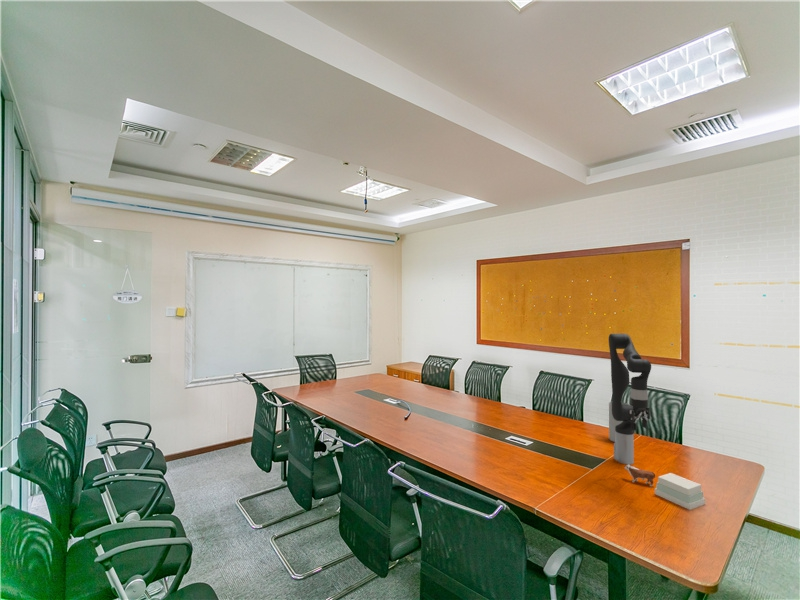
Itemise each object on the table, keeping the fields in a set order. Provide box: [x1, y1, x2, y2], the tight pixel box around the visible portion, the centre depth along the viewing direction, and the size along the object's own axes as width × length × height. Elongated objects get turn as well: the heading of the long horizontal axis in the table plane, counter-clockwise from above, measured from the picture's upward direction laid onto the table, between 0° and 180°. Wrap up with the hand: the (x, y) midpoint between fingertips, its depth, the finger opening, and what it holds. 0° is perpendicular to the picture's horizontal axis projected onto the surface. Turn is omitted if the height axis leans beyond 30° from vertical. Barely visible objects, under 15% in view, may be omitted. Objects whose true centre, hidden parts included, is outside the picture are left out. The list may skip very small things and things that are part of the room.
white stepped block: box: [654, 472, 706, 511], centre depth 171 cm, size 15×12×9 cm
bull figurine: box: [624, 464, 656, 487], centre depth 187 cm, size 4×13×8 cm, turn 51°
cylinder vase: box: [608, 401, 631, 443], centre depth 245 cm, size 12×12×25 cm
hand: (639, 428), depth 188 cm, fingers open, 8 cm apart
